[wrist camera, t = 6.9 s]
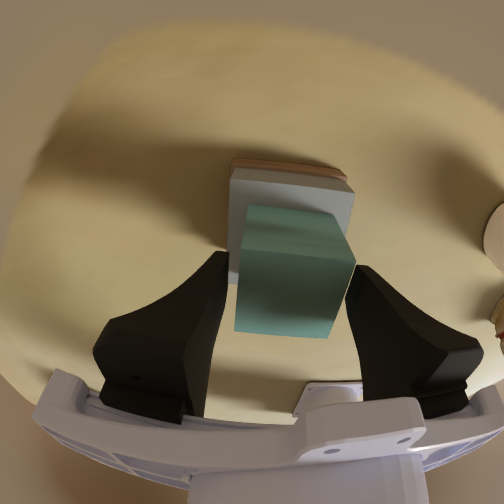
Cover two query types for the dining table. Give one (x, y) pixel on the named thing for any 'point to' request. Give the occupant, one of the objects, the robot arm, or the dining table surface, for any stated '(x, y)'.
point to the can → (495, 238)
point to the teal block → (291, 272)
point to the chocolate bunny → (499, 321)
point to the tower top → (281, 202)
